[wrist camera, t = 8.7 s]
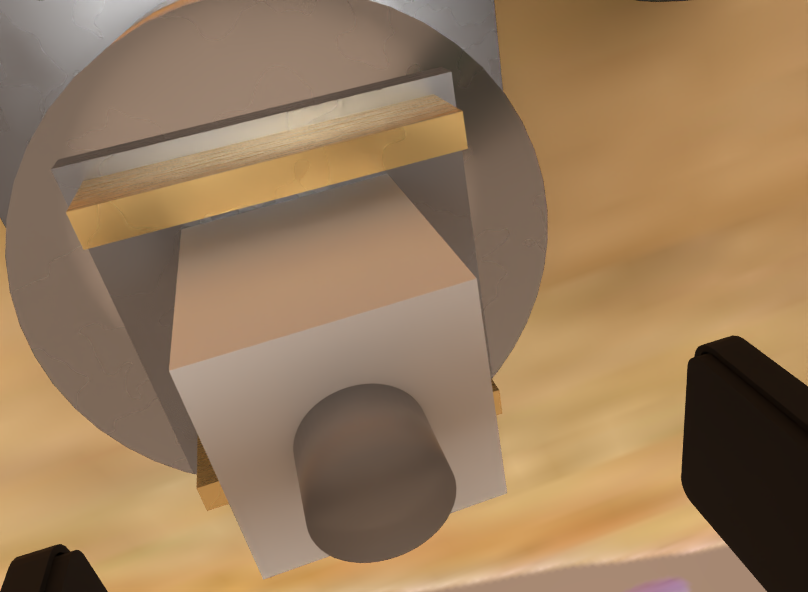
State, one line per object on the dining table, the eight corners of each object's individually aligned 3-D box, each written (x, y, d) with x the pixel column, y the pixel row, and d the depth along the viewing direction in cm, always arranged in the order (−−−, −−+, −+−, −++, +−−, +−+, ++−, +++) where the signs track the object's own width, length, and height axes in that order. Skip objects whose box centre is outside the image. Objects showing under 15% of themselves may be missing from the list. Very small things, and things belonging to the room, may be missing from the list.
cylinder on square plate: (462, -168, 24) (740, -305, 11) (512, 298, 33) (689, 493, 21) (-125, -58, 21) (-607, -84, 8) (120, 417, 31) (64, 723, 18)
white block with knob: (387, 174, 16) (517, 325, 9) (421, 342, 18) (543, 556, 12) (181, 229, 15) (162, 437, 8) (246, 396, 17) (270, 657, 11)
